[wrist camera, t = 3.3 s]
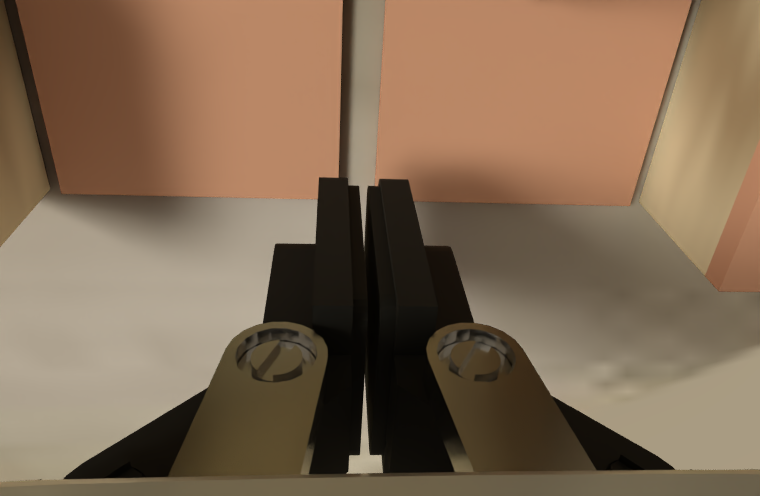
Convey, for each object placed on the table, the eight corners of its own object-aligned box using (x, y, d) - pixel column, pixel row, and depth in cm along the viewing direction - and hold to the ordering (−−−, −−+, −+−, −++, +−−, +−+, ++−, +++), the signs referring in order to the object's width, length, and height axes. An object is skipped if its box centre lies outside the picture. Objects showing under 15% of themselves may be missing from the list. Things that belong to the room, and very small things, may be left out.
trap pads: (-70, -53, 11) (-224, -20, 8) (754, -10, 12) (893, 33, 9) (0, 188, 13) (-97, 283, 10) (680, 203, 14) (770, 292, 11)
